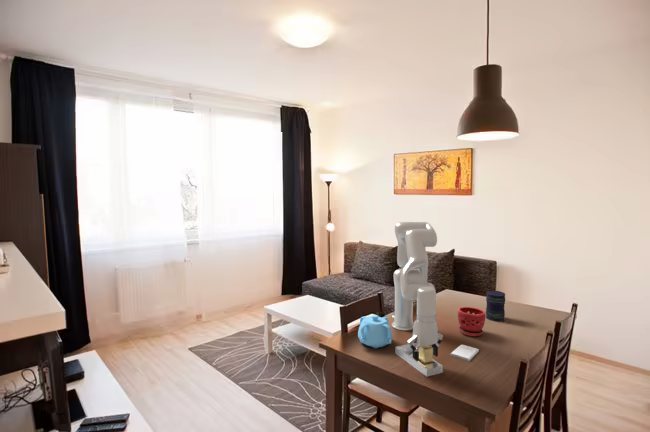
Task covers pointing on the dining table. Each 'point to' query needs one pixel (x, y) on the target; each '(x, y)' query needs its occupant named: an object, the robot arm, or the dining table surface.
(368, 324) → the decorative pot
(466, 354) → the external hard drive
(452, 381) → the dining table surface
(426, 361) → the gold rectangular block
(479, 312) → the plant pot
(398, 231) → the robot arm
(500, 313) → the storage jar
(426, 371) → the grey slotted plate
